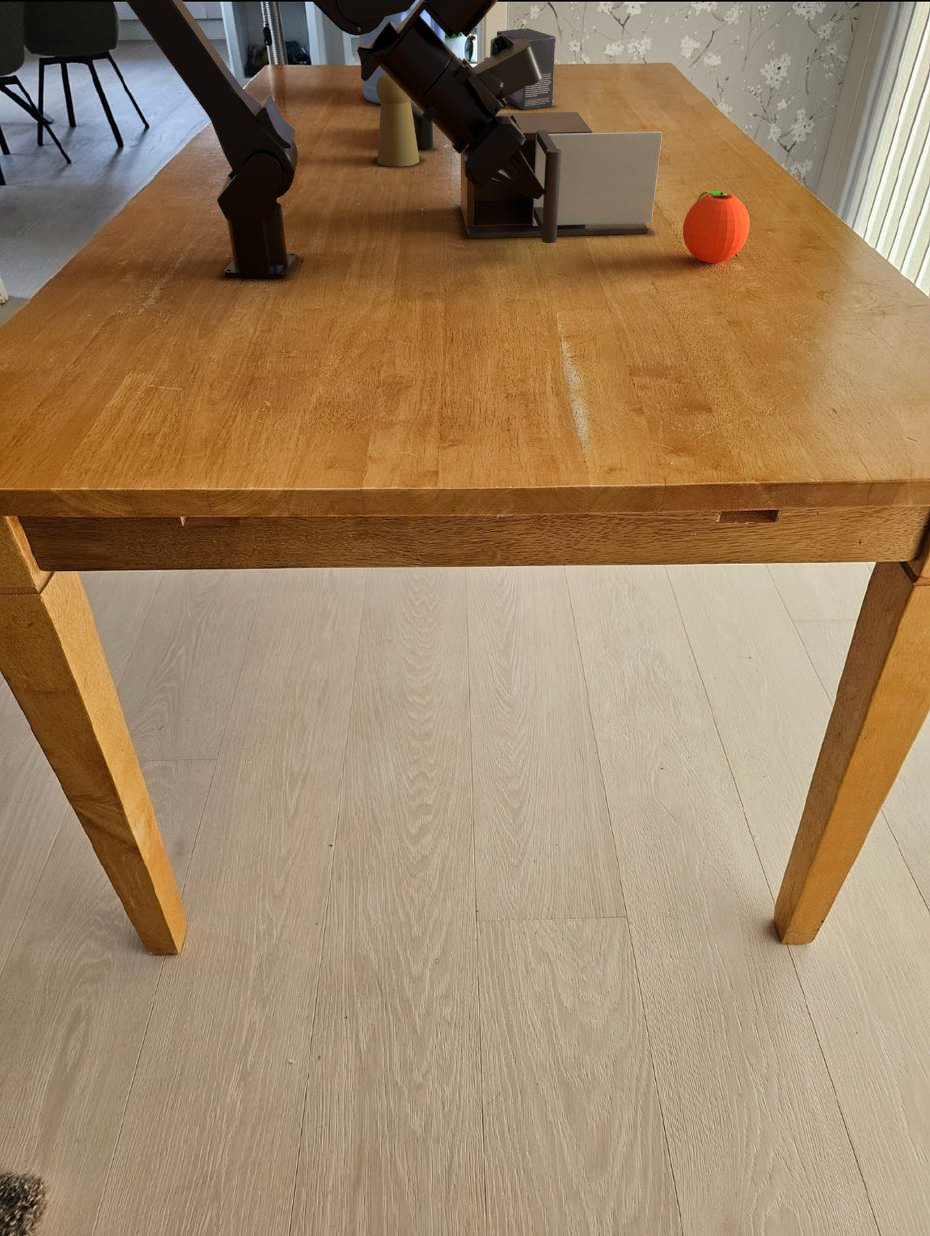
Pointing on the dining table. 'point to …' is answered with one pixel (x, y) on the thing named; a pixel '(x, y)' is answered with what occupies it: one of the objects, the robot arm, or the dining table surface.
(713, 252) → the clementine
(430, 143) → the mobile phone
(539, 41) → the small box
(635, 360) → the dining table surface
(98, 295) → the dining table surface
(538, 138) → the sliding door
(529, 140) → the cabinet
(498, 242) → the dining table surface
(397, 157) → the cork
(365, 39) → the water jug
